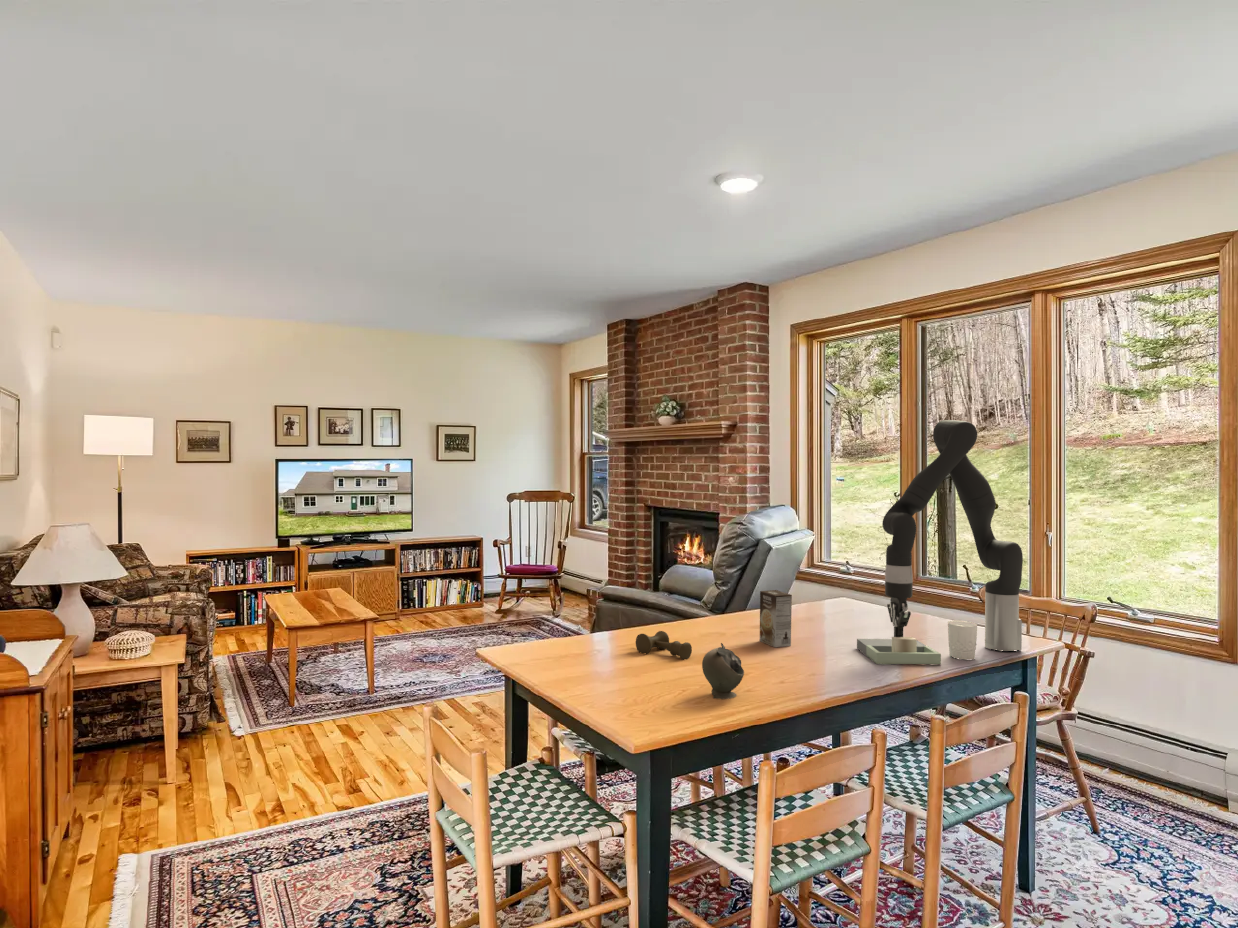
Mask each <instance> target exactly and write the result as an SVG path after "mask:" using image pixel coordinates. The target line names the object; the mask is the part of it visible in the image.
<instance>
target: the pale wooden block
mask: <svg viewBox="0 0 1238 928" xmlns="http://www.w3.org/2000/svg"><path fill="white" fill-rule="evenodd" d="M891 639H892V652H917V638H915V637H913V636H903V637H894V636H891Z"/></svg>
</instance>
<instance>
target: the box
mask: <svg viewBox="0 0 1238 928" xmlns="http://www.w3.org/2000/svg"><path fill="white" fill-rule="evenodd" d="M865 657H867V658H868V659H869V658H870V659H869V660H870V661H871V662H873V663H874V664H876V665H891V664H941V665H942V662H941V660H942V654H941V653H940V652H939V651H937V650H935V649H933V648H932V647H931V646H929V645H926V646H924V653H921V652H879V651H878V650H876V649H875V648H874V647H872V646H871V645H866V655H865Z"/></svg>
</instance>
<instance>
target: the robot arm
mask: <svg viewBox="0 0 1238 928" xmlns="http://www.w3.org/2000/svg"><path fill="white" fill-rule="evenodd" d="M932 436H933V437H932V438H933V442H934V445H935V447H936V449H937V451H938V453H939V455H938V456H937V457H936V458H935V459H934V460H933V461H932V462H931V463H929V465H927V466H926V467H925V468H923V469H922V470H921V471H920V472H919V473H918V474H917V475H915V477H914V478H913V479H912V480H911V482H910V483H909V485H908V486H907V488H906V489H905V491H904V492H903V494H902V496H901V497H900V498H899V499H898V500H897V501H896V502H895V503H894V504H893V505H892V506H891V507H890V508H889V509H888V511H886V513H885V514H884V517H883V519H882V528H883V530H884V531H885V533H886V534H889V535H891V536H892V541H891V544H890V545H888V546H887V547H886V551H885V552H886V553H885V572H884V595H885V596H886V597H889V598H890V601H889V603H887V607H886V608H887V611H888V616H889V619H890V623H892V626H893V637H904V628H905V627H907V626H908V623H909V620H910V618H911V615H912V613H911V611H909V610H908V609H909V607H908V606H909V605H908V602H907V600H908V599H911V598H912V597H913V585H914V584H913V580H914V579H913V577H914V576H913V568H912V565H913V562H912V561H913V558H912V557H913V556H912V554H913V553H912V551H913V547H914V544H915V538H916V536H917V522H916V520H915V518H914V517H913V516H914V515H915V514H917V513H919V512H920V513H921V512H922V511H923V510H924V509H925V508H926V507H927V505H928V504H929V502H930V500H931V499H932V497H933V495H934V494H935V493H936V491H937V490H938V488H939V487H940V485H941V484H942V483H943V481H944V480H945V479H946V478H947V477H948V475H949V474H950V477H951V481H952V483H953V485H954V488H955V490H956V492H957V493H956V494H957V496H958V498H959V501H960V503H961V506H962V508H963V510H964V513H965V515H966V518H967V520H968V524H969V526H970V529H971V532H972V535H973V540H974V543H975V546H976V551H977V555H978V557H979V560H980V562H981V564H982V565H983V566H984V567H985V568H986V569H988V570H989V569H990V570H994V571H999V576H998V578H997V579H994V580H991V581H987V582H986V583H985V586H984V587H985V588H984V592H985V594H984V595H985V596H984V597H985V598H984V602H985V603H984V605H985V607H984V609H985V610H984V612H985V613H984V648H986V649H987V650H991V649H997V650H1003V651H1014V650H1022V643H1023V642H1022V641H1023V636H1022V633H1023V632H1022V631H1023V630H1022V629H1023V627H1022V626H1023V625H1022V624H1023V621H1022V619H1021V618H1020V613H1019V612H1020V588H1021V586H1022V585H1021V584H1022V578H1023V577H1022V576H1023V575H1022V574H1023V561H1024V560H1023V559H1024V556H1023V549H1022V547H1021V546H1020V544H1019V543H1017V542H1014V541H1007V540H1000V539H999V540H997V538H995V535H994V533H993V529H992V526H991V524H992V521H993V518H994V517H993V516H994V513H995V510H996V506H997V503H996V502H997V501H996V497H995V496H994V493H993V490H992V488H991V487H992V486H991V485H990V483H989V481H988V479H987V478H985V475H983V473H981V471H980V470H979V469H978V468H977V467H976V466H975V465H974V463H972V461H971V460H970V458H969V457H968V455H967V454H968V453H969V452H970V451H971V450H972V449H973V447H974V445H975V444H976V442H977V439H978V430H977V427H976V426H975V424H973V423H972V422H969V421H967V420H966V421H965V420H955V419H943V420H940V421H939V422H937V423H936V424H935V426H934V428H933V433H932Z"/></svg>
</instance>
